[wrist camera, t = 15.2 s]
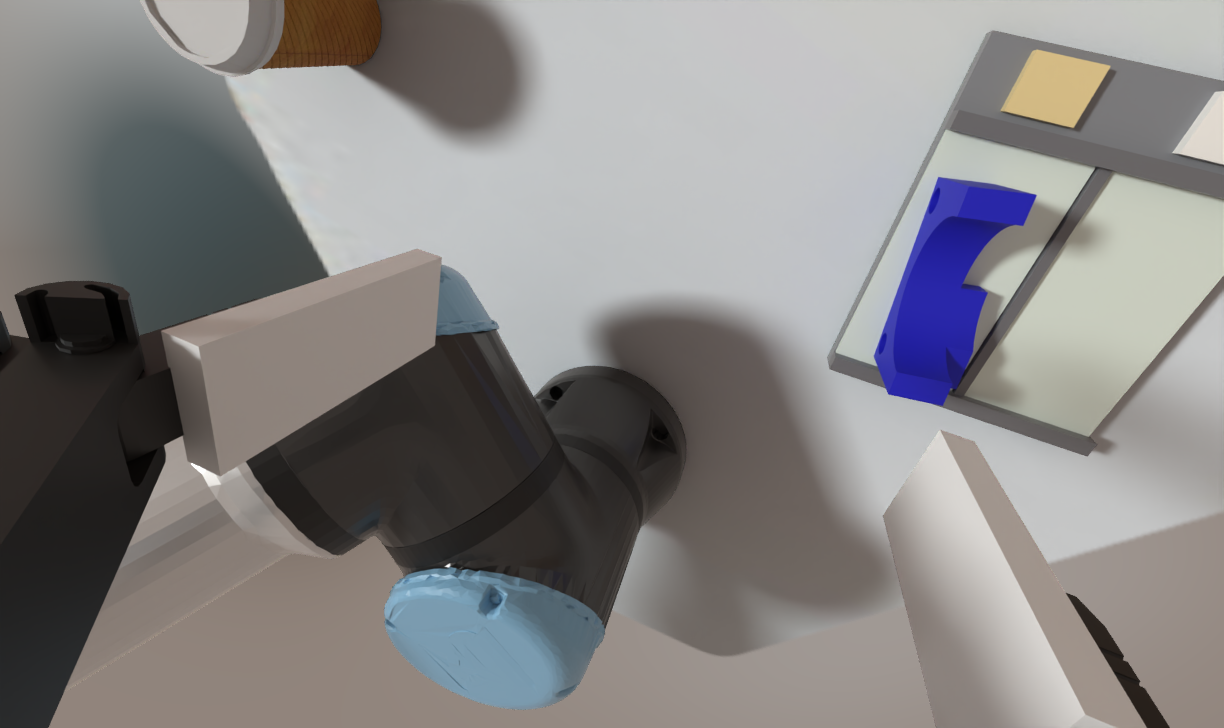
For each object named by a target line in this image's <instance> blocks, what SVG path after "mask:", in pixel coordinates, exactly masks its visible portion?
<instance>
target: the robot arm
mask: <svg viewBox="0 0 1224 728" xmlns="http://www.w3.org/2000/svg"><path fill="white" fill-rule="evenodd" d="M441 260H442V257H440V256H437V255H434V254H431V253H428V252H425V251H422V250H419V249H415V250H412V251H409V252H406V253H403V254H399V255H396V256H393V257H390V258H387V259H384V260H381V261H378V262H375V263H371V264H368V265H365V266H362V267H359V268H356V269H353V270H350V271H346V272H343V273H340V274H337V275H334V276H331V277H328V278H325V279H321V280H318V281H315V282H312V283H309V284H306V285H303V286H300V287H297V288H293V289H290V290H287V291H284V292H281V293H278V294H275V295H272V296H268V297H265V298H260V299H254V300H251V301H247V302H244V303H241V304H238V305H235V306H232V307H231V309H228V308H226V309H222V310H219V311H216V312H213V313H212V314H211V315H203V316H200V317H197V318H194V319H191V320H188V321H184V322H181V323H178V324H175V325H172V326H169V327H165V328H162V329H159V330H156V331H153V332H150V333H146V334H143V335H140V336H139V333H138V329H137V325H136V320H135V316H134V311H133V307H132V302H131V298H130V294H129V293H128V292H127V291H126V290H125V289H124V288H122V287H119V286H116V285H113V284H110V283H103V282H94V281H65V282H56V283H48V284H43V285H39V286H35V287H31V288H27V289H25V290H23V291H21V292H19V293H17V294H16V295H15V298H16V301H17V304H18V307H19V310H20V313H21V316H22V319H23V322H24V324H25V328H26V330H27V333H28V336H29V338H25V337H19V336H13V335H9V332H8V329H7V327H6V324H5V321H4V318H3V316H2V313H1V311H0V728H48V727H49V725H50V723H51V720H52V718H53V715H54V713H55V711H56V709H57V707H58V704H59V702H60V700H61V698H62V695H63V693H64V692H65V691H67V690H68V689H70V688H72V687H73V686H75V685H77V684H78V683H80V682H82V681H83V680H85V679H86V678H88V677H90V676H91V675H93V674H95V673H96V672H98V671H100V670H101V669H103V668H104V667H106V666H108V665H109V664H111V663H112V662H114V661H116V660H118V659H119V658H121V657H122V656H124V655H126V654H127V653H129V652H131V651H132V650H134V649H135V648H137V647H138V646H140V645H142V644H144V643H145V642H147V641H148V640H150V639H152V638H153V637H155V636H156V635H158V634H160V633H162V632H163V631H165V630H166V629H168V628H169V627H171V626H173V625H174V624H176V623H178V622H179V621H181V620H182V619H184V618H186V617H188V616H189V615H191V614H193V613H194V612H196V611H197V610H199V609H201V608H202V607H204V606H206V605H207V604H209V603H210V602H212V601H214V600H215V599H217V598H219V597H220V596H222V595H223V594H225V593H227V592H228V591H230V590H232V589H233V588H235V587H237V586H238V585H240V584H241V583H243V582H245V581H246V580H248V579H250V578H251V577H252V576H254V575H256V574H258V573H259V572H261V571H262V570H264V569H266V568H268V567H269V566H271V565H272V564H274V563H276V562H277V561H279V560H281V559H282V558H284V557H285V556H287V555H289V554H304V555H309V556H315V557H321V558H327V559H334V558H337V557H339V556H341V555H343V554H345V553H346V552H348V551H349V550H351V549H352V548H354V547H356V546H357V545H359V544H361V543H362V542H364V541H365V540H367V539H369V538H370V537H372V536H376V537H377V538H378V539H379V540H380V541H381V542H382V544H383V545H384V546H385V547H386V549H387V550H388V552H389V553H390V555H391V556H392V558H393V559H394V560H395V562H396V564H397V565H398V566H399V568H400V570H401V571H402V573H403V576H404V578H402V579H400V580H399V581H398V582H397V583H396V584H395V585H394V586H393V587H392V590H391V591H390V597H389V599H388V600H387V602H386V605H385V608H384V616H385V618H386V619H385V628H386V631H387V633H388V635H389V638H390V639H391V641H392V643H393V644H394V646H395V647H396V649H397V650H398V651H399V652H400V653H401V655H402V656H403V657H404V658H405V659H406V660H407V661H408V662H409V663H410V664H412V665H413V666H414V667H415V668H416V669H417V670H418V671H420V672H421V673H422V674H424V675H425V676H426V677H428V678H430V679H431V680H433V681H434V682H436V683H437V684H439V685H441V686H443V687H444V688H446V689H448V690H450V691H452V692H454V693H456V694H458V695H461V696H464V697H467V698H468V699H471V700H473V701H476V702H479V703H483V704H486V705H490V706H495V707H500V708H507V709H518V710H526V709H536V708H543V707H546V706H550V705H552V704H555V703H557V702H559V701H561V700H563V699H564V698H566V697H567V696H568V695H570V694H571V693H572V692H573V691H574V690H575V689H576V687H577V685H579V684H580V682H581V680H582V678H583V676H584V674H585V672H586V670H587V667H588V665H589V663H590V661H591V658H592V656H593V654H594V651H595V649H596V648H597V647H598V646H599V644H600V643H601V642H602V641H603V638H604V634H605V628H606V625H607V622H608V619H609V617H610V614H611V611H612V608H613V605H614V602H615V599H616V596H617V593H618V591H619V588H620V585H621V582H622V579H623V576H624V573H625V570H626V567H627V565H628V562H629V559H630V556H631V553H632V550H633V547H634V544H635V541H636V538H637V535H638V532H639V530H640V528H641V527H642V526H643V525H644V524H645V523H646V522H647V521H648V520H649V519H650V518H651V517H652V516H653V515H654V514H655V513H656V512H657V511H658V510H660V509H661V508H662V507H663V506H664V505H665V504H666V503H667V501H668V500H669V499H670V498H671V496H672V495H673V493H674V491H675V490H676V488H677V486H678V483H679V480H680V477H681V474H682V471H683V468H684V464H685V458H686V442H685V437H684V432H683V429H682V426H681V424H680V421H679V419H678V417H677V416H676V414H675V412H674V410H673V409H672V407H671V406H670V405H669V404H668V402H667V401H666V400H665V399H664V398H663V397H662V396H661V395H660V394H659V393H658V392H657V391H656V390H655V389H654V388H653V387H651V386H650V385H649V384H647V383H646V382H644V381H643V380H641V379H639V378H637V377H635V376H633V375H631V374H629V373H626V372H624V371H621V370H618V369H614V368H609V367H603V366H584V367H577V368H573V369H570V370H567V371H564V372H562V373H560V374H558V375H557V376H555V377H554V378H552V379H551V380H550V381H548V382H547V383H546V384H545V385H544V386H543V387H542V388H541V389H540V391H539V392H538V393H537V394H536V395H535V396H534V397H533V395H532V393H531V391H530V390H529V388H528V386H527V384H526V383H525V381H524V379H523V377H522V375H521V374H520V372H519V370H518V368H517V367H516V365H515V363H514V361H513V359H512V358H511V356H510V354H509V352H508V350H507V348H506V347H505V345H504V343H503V341H502V339H501V337H500V336H499V334H498V332H497V330H496V329H499V326H498V324H497V322H495V321H493V320H491V318H490V317H489V315H488V314H487V312H486V310H485V309H484V307H483V306H482V304H481V302H480V301H479V299H478V298H477V296H476V295H475V293H474V291H473V290H472V288H471V287H470V285H469V283H468V282H467V280H466V279H465V278H464V277H463V276H462V275H461V274H460V273H459V272H457V271H456V270H454V269H453V268H450V267H448V266H445V265H441ZM883 518H884V522H885V526H886V530H887V534H888V538H889V542H890V546H891V550H892V554H893V558H894V562H895V566H896V570H897V574H898V578H899V582H900V586H901V590H902V594H903V598H904V602H905V606H906V610H907V613H908V618H909V622H910V626H911V630H912V634H913V638H914V642H915V646H916V650H917V654H918V658H919V662H920V665H921V670H922V674H923V678H924V682H925V686H926V689H927V694H928V698H929V702H930V706H931V710H932V714H933V718H934V722H935V726H936V728H1170V727H1169V726H1168V724H1167V723H1166V721H1165V719H1164V718H1163V716H1162V715H1161V713H1160V712H1159V710H1158V708H1157V707H1156V705H1155V704H1154V702H1153V701H1152V699H1151V697H1150V696H1149V694H1148V693H1147V691H1146V690H1145V689H1144V688H1143V687H1140V686H1139V682H1140V680H1139V679H1138V678H1137V676H1136V674H1135V673H1134V671H1133V669H1132V668H1131V666H1130V665H1129V663H1128V662H1126V661H1123V657H1124V656H1123V654H1122V652H1121V651H1120V649H1119V648H1118V646H1117V644H1116V643H1115V641H1114V640H1113V638H1112V637H1111V635H1110V634H1109V632H1108V631H1107V629H1106V627H1105V626H1104V625H1103V624H1102V623H1101V622H1100V621H1099V620H1098V619H1097V618H1096V617H1095V616H1094V615H1093V614H1092V613H1091V612H1090V611H1089V609H1088V608H1087V607H1086V606H1085V605H1084V604H1082V602H1081V601H1080V600H1079V599H1078V598H1077V597H1075V596H1073V595H1070V594H1068V593H1065V591H1064V590H1063V588H1062V586H1061V585H1060V583H1059V581H1058V580H1057V578H1056V576H1055V575H1054V573H1053V571H1052V570H1051V568H1050V566H1049V565H1048V563H1047V561H1046V560H1045V558H1044V556H1043V555H1042V553H1041V551H1040V550H1039V548H1038V546H1037V545H1036V543H1035V541H1034V540H1033V538H1032V536H1031V535H1030V533H1029V531H1028V530H1027V528H1026V526H1025V525H1024V523H1023V521H1022V520H1021V518H1020V516H1019V515H1018V513H1017V512H1016V510H1015V508H1014V507H1013V505H1012V503H1011V502H1010V500H1009V498H1008V497H1007V495H1006V493H1005V492H1004V490H1003V488H1002V487H1001V485H1000V483H999V482H998V480H997V478H996V477H995V475H994V473H993V472H992V470H991V468H990V467H989V465H988V463H987V462H986V460H985V458H984V457H983V455H982V453H981V452H980V450H979V448H978V447H977V445H976V444H975V442H974V441H971V440H968V439H965V438H962V437H960V436H957V435H954V434H951V433H948V432H945V431H942V430H939V431H938V433H937V434H936V436H935V438H934V439H933V441H932V442H931V444H930V445H929V447H928V448H927V450H926V451H925V453H924V454H923V456H922V457H921V459H920V460H919V462H918V463H917V465H916V466H915V468H914V469H913V471H912V472H911V474H910V475H909V477H908V478H907V480H906V481H905V483H904V484H903V486H902V487H901V489H900V490H899V492H898V494H897V495H896V497H895V498H894V500H893V501H892V503H891V504H890V506H889V507H888V509H887V510H886V512H885V513H884V515H883Z"/></svg>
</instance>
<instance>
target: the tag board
mask: <svg viewBox="0 0 1224 728" xmlns="http://www.w3.org/2000/svg"><path fill="white" fill-rule="evenodd" d="M938 177H943V178H951V179H959V180H967V181H975V182H983V183H991V184H997V185H1000V186H1004V187H1008V188H1012V189H1016V190H1020V191H1024V192H1028V193H1032V194H1035V195H1037V196H1036V199H1035V201H1034V203H1033V205H1032V208H1031V210H1030V212H1029V214H1028V217H1027V219H1026V221H1025V223H1024V225H1023V226H1019V225H1013V226H1010V227H1007V228H1005V229H1003V230H1002V231H1000V232H999V233H998V234H996V235H995V236H994V237H993V238H992V239H991V240H990V241H989V242H988V243H987V245H986V246H985V247H984V248H983V250H982V251H981V252H980V254H979V255H978V257H977V258H976V260H975V261H974V263H973V265H972V266H971V268H970V270H969V272H968V274H967V276H966V278H965V280H964V282H963V284H969V285H975V286H980V287H981V288H983V289H984V290H985V291H986V292H988V294H987V296H986V299H985V301H984V304H983V307H982V310H981V313H980V316H979V319H978V323H977V327H976V333H975V339H974V347H973V353H972V355H971V358H970V360H969V362H968V364H967V367H966V369H965V371H964V373H963V375H962V378H961V380H960V382H959V384H958V386H957V389H950V391H949V393H948V395H947V398H946V400H945V402H944V404H943V406H941V405H937V406H940V407H943V408H946V409H949V410H952V411H954V412H957V413H960V414H963V415H966V416H969V417H972V418H975V419H978V420H981V421H984V422H987V423H990V424H993V425H996V426H999V427H1002V428H1005V429H1008V430H1011V431H1014V432H1016V433H1019V434H1022V435H1025V436H1028V437H1031V438H1034V439H1037V440H1040V441H1043V442H1046V443H1049V444H1052V445H1055V446H1058V447H1061V448H1064V449H1067V450H1070V451H1073V452H1075V453H1078V454H1081V455H1084V456H1088V455H1089V454H1090V453H1091V451H1092V450H1093V449H1094V448H1095V447H1096V446H1097V444H1096V443H1095V442H1094V441H1093V440H1092V439H1091V438H1090V437H1089V436H1090V435H1091V433H1092V432H1093V431H1094V430H1095V429H1096V427H1097V426H1098V425H1099V424H1100V423H1101V421H1102V420H1103V419H1104V418H1105V417H1106V415H1107V414H1108V413H1109V412H1110V411H1111V409H1112V408H1113V407H1114V406H1115V405H1116V403H1117V402H1118V401H1119V400H1120V399H1121V398H1122V396H1123V395H1124V394H1125V393H1126V392H1127V390H1128V389H1129V388H1130V387H1131V386H1132V384H1133V383H1134V382H1135V381H1136V380H1137V378H1138V377H1139V376H1140V375H1141V374H1142V372H1143V371H1144V370H1145V369H1146V368H1147V366H1148V365H1149V364H1150V363H1151V362H1152V360H1153V359H1154V358H1155V357H1156V356H1157V354H1158V353H1159V352H1160V351H1161V350H1162V349H1163V347H1164V346H1165V345H1166V344H1167V343H1168V341H1169V340H1170V339H1171V338H1172V337H1173V335H1174V334H1175V333H1176V332H1177V331H1178V329H1179V328H1180V327H1181V326H1182V325H1183V323H1184V322H1185V321H1186V320H1187V319H1188V317H1189V316H1190V315H1191V314H1192V313H1193V311H1194V310H1195V309H1196V308H1197V307H1198V306H1199V304H1200V303H1201V302H1202V301H1203V300H1204V298H1205V297H1206V296H1207V295H1208V294H1209V292H1210V291H1211V290H1212V289H1213V288H1214V286H1215V285H1216V284H1217V283H1218V282H1219V280H1220V279H1221V278H1222V277H1223V276H1224V81H1221V80H1216V79H1212V78H1207V77H1203V76H1198V75H1193V74H1189V73H1184V72H1180V71H1175V70H1171V69H1166V68H1162V67H1157V66H1153V65H1148V64H1143V63H1139V62H1134V61H1130V60H1125V59H1121V58H1116V57H1112V56H1107V55H1102V54H1098V53H1093V52H1089V51H1084V50H1080V49H1075V48H1071V47H1066V46H1061V45H1057V44H1052V43H1048V42H1043V41H1039V40H1034V39H1030V38H1025V37H1021V36H1016V35H1011V34H1007V33H1002V32H998V31H991V32H989V33H987V34H986V36H985V38H984V40H983V42H982V44H981V46H980V48H979V50H978V52H977V54H976V56H975V58H974V60H973V62H972V64H971V66H970V68H969V70H968V72H967V74H966V77H965V79H964V81H963V83H962V85H961V87H960V89H959V91H958V93H957V95H956V97H955V99H954V101H953V103H952V105H951V107H950V109H949V111H948V113H947V115H946V117H945V119H944V121H943V123H942V125H941V127H940V129H939V131H938V133H937V136H936V138H935V140H934V142H933V144H932V146H931V148H930V150H929V152H928V154H927V156H926V158H925V160H924V162H923V164H922V166H921V168H920V170H919V172H918V174H917V176H916V178H915V180H914V182H913V184H912V186H911V188H910V190H909V192H908V194H907V197H906V199H905V201H904V203H903V205H902V207H901V209H900V211H899V213H898V215H897V217H896V219H895V221H894V223H893V225H892V227H891V229H890V231H889V233H888V235H887V237H886V239H885V241H884V243H883V245H882V247H881V249H880V251H879V253H878V255H877V258H876V260H875V262H874V264H873V266H872V268H871V270H870V272H869V274H868V276H867V278H866V280H865V282H864V284H863V286H862V288H861V290H860V292H859V294H858V296H857V298H856V300H855V302H854V304H853V306H852V308H851V310H850V312H849V314H848V317H847V319H846V321H845V323H844V325H843V327H842V329H841V331H840V333H839V335H838V337H837V339H836V341H835V343H834V345H833V347H832V349H831V351H830V353H829V355H828V357H827V358H828V363H829V369H831V370H833V371H836V372H839V373H842V374H845V375H848V376H851V377H854V378H857V379H860V380H863V381H866V382H869V383H872V384H875V385H878V386H881V387H884V388H886V387H885V384H884V382H883V379H882V377H881V374H880V372H879V369H878V366H877V364H876V361H875V359H874V354H875V351H876V348H877V346H878V343H879V340H880V337H881V334H882V332H883V329H884V326H885V323H886V321H887V318H888V315H889V312H890V310H891V307H892V304H893V301H894V298H895V296H896V293H897V290H898V287H899V285H900V282H901V279H902V276H903V273H904V271H905V268H906V265H907V262H908V260H909V257H910V254H911V251H912V249H913V246H914V243H915V240H916V237H917V235H918V232H919V229H920V226H921V224H922V221H923V218H924V215H925V212H926V210H927V207H928V204H929V201H930V199H931V196H932V193H933V190H934V188H935V185H936V182H937V179H938ZM934 405H936V404H934Z"/></svg>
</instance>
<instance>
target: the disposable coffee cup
mask: <svg viewBox="0 0 1224 728" xmlns="http://www.w3.org/2000/svg"><path fill="white" fill-rule="evenodd" d="M140 2H141V4H142V6H143V8H144V10H145V12H146V14H147V16H148V18H149V20H150V22H151V23H152V24H153V26H154V27H155V29H156V30H157V31H158V33H159V34H160V36H161V37H162V38H163V39H164V40H165V41H166V42H167V43H168V44H169V45H170V46H171V47H172V48H173V49H174V50H175V51H177V52H178V53H179V54H180V55H182V56H184V57H185V58H187V59H189V60H191V61H194V62H196V63H198V64H199V65H201V66H203V67H204V68H206V69H207V70H209V71H212V72H214V73H216V74H219V75H224V76H231V77H232V76H241V75H246V74H250V73H251V72H253V71H255V70H257V69H261V68H263V69H267V68H271V69H273V68H285V67H286V68H291V67H313V66H314V67H319V66H338V65H339V66H342V65H359V64H362V63H365V62H366V61H367V60H369V59H370V58H371V56H372V55H373V54H374V52H375V51H376V49H377V46H378V43H379V40H380V34H381V17H380V13H379V8H378V4H377V1H376V0H140Z"/></svg>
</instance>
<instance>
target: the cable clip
mask: <svg viewBox="0 0 1224 728" xmlns="http://www.w3.org/2000/svg"><path fill="white" fill-rule="evenodd" d="M1036 196H1037V195H1035V194H1032V193H1028V192H1024V191H1020V190H1016V189H1012V188H1008V187H1004V186H1000V185H997V184H991V183H983V182H975V181H967V180H959V179H951V178H943V177H938V179H937V182H936V185H935V188H934V190H933V193H932V196H931V199H930V201H929V204H928V207H927V210H926V212H925V215H924V218H923V221H922V224H921V226H920V229H919V232H918V235H917V237H916V240H915V243H914V246H913V249H912V251H911V254H910V257H909V260H908V262H907V265H906V268H905V271H904V273H903V276H902V279H901V282H900V285H899V287H898V290H897V293H896V296H895V298H894V301H893V304H892V307H891V310H890V312H889V315H888V318H887V321H886V323H885V326H884V329H883V332H882V334H881V337H880V340H879V343H878V346H877V348H876V351H875V354H874V359H875V361H876V364H877V366H878V369H879V372H880V374H881V377H882V379H883V382H884V384H885V387H886V390H887V392H888V394H889V395H894V396H899V397H903V398H908V399H913V400H917V401H922V402H927V403H931V404H936V405H941V406H943V404H944V402H945V400H946V398H947V395H948V393H949V391H950V389H957V386H958V384H959V382H960V380H961V378H962V375H963V373H964V371H965V369H966V367H967V364H968V362H969V360H970V358H971V355H972V353H973V347H974V339H975V333H976V327H977V323H978V319H979V316H980V313H981V310H982V307H983V304H984V301H985V299H986V296H987V294H988V292H986V291H985V290H984V289H983V288H981V287H980V286H975V285H969V284H963V282H964V280H965V278H966V276H967V274H968V272H969V270H970V268H971V266H972V265H973V263H974V261H975V260H976V258H977V257H978V255H979V254H980V252H981V251H982V250H983V248H984V247H985V246H986V245H987V243H988V242H989V241H990V240H991V239H992V238H993V237H994V236H995V235H996V234H998V233H999V232H1000V231H1002V230H1003V229H1005V228H1007V227H1010V226H1013V225H1019V226H1023V225H1024V223H1025V221H1026V219H1027V217H1028V214H1029V212H1030V210H1031V208H1032V205H1033V203H1034V201H1035V199H1036Z"/></svg>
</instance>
